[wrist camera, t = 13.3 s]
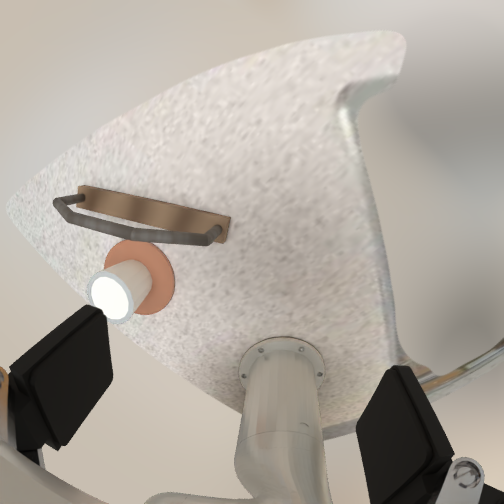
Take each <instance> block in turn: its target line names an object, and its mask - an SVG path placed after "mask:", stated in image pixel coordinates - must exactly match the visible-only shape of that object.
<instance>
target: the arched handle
mask: <svg viewBox="0 0 504 504" xmlns="http://www.w3.org/2000/svg"><path fill="white" fill-rule="evenodd" d="M76 203H77V205H76V207H78V208H82V209H86V210H90V211H94V212H98V213H102V214H106V215H110V216H114V217H118V218H122V219H126V220H130V221H134V222H138V223H142V224H146V225H150V226H154V227H158V228H162V229H166V230H170V231H166V230H154V229H142V228H133V227H129V226H125V225H122V224H118V223H114V222H110V221H106V220H102V219H99V218H95V217H91V216H87V215H83V214H79V213H76V212H73V211H72V210H71V209H70V208H69V207H68V206H67V205H71V204H76ZM53 206H54V207H55V208H56V209H57V211H58V212H59V213H60V214H61V215H62V217H63V218H64V219H65V220H66V221H67V222H68V223H71V224H74V225H78V226H81V227H85V228H88V229H92V230H95V231H99V232H102V233H106V234H109V235H113V236H116V237H120V238H124V239H127V240H131V241H140V242H154V243H168V244H182V245H196V246H209V245H210V244H211V243H212V242H213V241H214V242H218V243H222V244H223V243H224V242H225V241H226V236H227V231H228V227H229V222H230V218H231V217H227V216H223V215H219V214H214V213H210V212H206V211H202V210H197V209H193V208H189V207H184V206H180V205H175V204H171V203H166V202H162V201H157V200H153V199H148V198H144V197H139V196H134V195H130V194H125V193H120V192H115V191H110V190H105V189H100V188H95V187H90V186H85V185H83V186H78V194H76V195H70V196H65V197H59V198H55V199H54V200H53Z"/></svg>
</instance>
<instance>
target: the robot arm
mask: <svg viewBox="0 0 504 504" xmlns="http://www.w3.org/2000/svg"><path fill="white" fill-rule="evenodd" d="M9 368H10V370H11V372H10V373H9V374H7V372H6V371H5V370H4V369H3V368H2V367H0V504H108V503H105V502H103V501H101V500H99V499H97V498H95V497H93V496H91V495H89V494H87V493H85V492H83V491H81V490H79V489H77V488H75V487H73V486H72V485H70V484H68V483H66V482H65V481H63V480H61V479H59V478H58V477H56V476H54V475H53V474H51V473H49V472H48V471H46V470H45V464H44V459H43V453H42V446H43V445H44V444H45V443H46V444H47V445H48V446H50V447H52V448H53V449H55V450H57V451H58V450H59V449H60V447H61V446H66V445H67V444H68V443H69V441H70V440H71V438H72V437H73V435H74V434H75V433H76V431H77V430H78V428H79V427H80V426H81V424H82V422H83V421H84V420H85V418H86V417H87V416H88V414H89V413H90V411H91V410H92V409H93V407H94V406H95V405H96V403H97V402H98V400H99V399H100V398H101V396H102V395H103V394H104V392H105V391H106V389H107V388H108V387H109V385H110V384H111V382H112V380H113V369H112V363H111V354H110V346H109V337H108V325H107V317H106V315H104V313H103V311H102V309H100V308H97V307H94V306H91V305H85V306H83V307H82V308H81V309H79V310H78V311H77V312H75V313H74V314H73V315H72V316H70V317H69V318H68V319H66V320H65V321H64V322H63V323H61V324H60V325H59V326H58V327H56V328H55V329H54V330H53V331H51V332H50V333H49V334H48V335H46V336H45V337H44V338H43V339H41V340H40V341H39V342H38V343H37V344H35V345H34V346H33V347H32V348H31V349H29V350H28V351H27V352H26V353H25V354H24V355H22V356H21V357H20V358H19V359H18V360H16V361H15V362H14V363H13V364H12V365H11V366H9ZM324 377H325V366H324V361H323V359H322V356H321V355H320V353H319V352H318V351H317V350H316V349H315V348H314V347H313V346H311V345H310V344H308V343H306V342H304V341H301V340H299V339H294V338H286V337H279V338H272V339H268V340H264V341H262V342H260V343H257V344H256V345H254V346H253V347H251V348H250V349H249V350H248V351H247V352H246V353H245V355H244V356H243V358H242V360H241V363H240V366H239V379H240V382H241V384H242V386H243V388H244V389H245V390H246V395H245V401H244V407H243V413H242V418H241V424H240V430H239V435H238V441H237V447H236V453H235V458H234V465H235V471H236V474H237V477H238V479H239V480H240V482H241V484H242V485H243V486H244V487H245V489H246V490H247V491H248V492H249V493H250V494H251V495H252V496H253V499H226V498H215V497H206V496H198V495H191V494H183V493H173V492H167V493H160V494H157V495H154V496H152V497H151V498H149V499H148V500H147V501H146V502H145V503H144V504H333V502H332V499H331V494H330V490H329V485H328V478H327V470H326V461H325V452H324V443H323V434H322V426H321V417H320V409H319V401H318V393H317V390H318V389H319V387H320V386H321V384H322V382H323V380H324ZM356 434H357V438H358V442H359V447H360V452H361V457H362V462H363V467H364V472H365V476H366V482H367V487H368V492H369V498H370V504H504V492H502V491H500V490H497V489H495V488H493V487H491V486H489V485H487V484H484V476H485V475H484V471H483V469H482V467H481V465H480V464H479V463H478V462H477V461H475V460H473V459H471V458H467V457H461V458H458V459H456V460H455V461H452V459H451V458H452V457H453V455H454V454H455V453H454V451H453V449H452V447H451V445H450V442H449V441H448V438H447V436H446V434H445V432H444V430H443V428H442V426H441V424H440V422H439V420H438V418H437V416H436V414H435V412H434V410H433V408H432V407H431V404H430V402H429V401H428V399H427V397H426V395H425V393H424V391H423V389H422V388H421V386H420V384H419V382H418V380H417V378H416V377H415V375H414V373H413V371H412V370H411V368H410V367H409V366H398V365H394V366H392V367H391V368H390V369H388V370H386V372H385V373H384V375H383V377H382V379H381V381H380V383H379V385H378V387H377V389H376V391H375V392H374V394H373V396H372V398H371V400H370V401H369V403H368V405H367V407H366V408H365V410H364V412H363V414H362V415H361V417H360V419H359V420H358V422H357V425H356Z"/></svg>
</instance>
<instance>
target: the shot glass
mask: <svg viewBox="0 0 504 504" xmlns="http://www.w3.org/2000/svg"><path fill="white" fill-rule="evenodd" d="M151 289H152V278H151V274H150V272H149V270H148V269H147V267H146V266H145V265H143V264H142V263H141V262H139V261H136V260H126V261H123V262H121V263H118V264H116V265H114V266H111V267H109V268H106V269H104V270H101V271H99V272H97V273H96V274H94V275H93V276H92V277H91V278H90V280H89V283H88V287H87V295H88V298H89V301H90V304H91V306H94V307H97V308H100V309H102V311H103V313H104V315H106V317H107V322H110V323H112V324H123V323H124V322H126V321H128V320H129V319H130V318H131V316H132V315H133V314H134V312H135V311H136V310H137V308H138V307H139V306H140V304H141V303H142V302H143V300H144V299H145V298H146V296H147V295H148V293H149V292H150V290H151Z"/></svg>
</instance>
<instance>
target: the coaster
mask: <svg viewBox="0 0 504 504" xmlns="http://www.w3.org/2000/svg"><path fill="white" fill-rule="evenodd" d="M126 260H136V261H139V262H141V263H142V264H143V265H145V266H146V267H147V269H148V270H149V272H150V274H151V278H152V289H151V290H150V292H149V293H148V295H147V296H146V298H145V299H144V300H143V302H142V303H141V304H140V306H139V307H138V308H137V310H136V311H135V312H134V313H136V314H141V315H149V314H154V313H157V312H159V311H160V310H162V309H163V308H164V307H165V306H166V305H167V304H168V302H169V301H170V300H171V297H172V295H173V292H174V287H175V278H174V273H173V269H172V266H171V264H170V262H169V260H168V259H167V257H166V256H165V255H164V253H163V252H162V251H161V250H160V249H159V248H158V247H156V246H155V245H154V244H152V243H150V242H140V241H131V240H124V241H122V242H120V243H118V244H116V245H115V246H114V247H113V248H112V249H111V250H110V251H109V253H108V255H107V257H106V260H105V264H104V269H106V268H109V267H111V266H114V265H116V264H118V263H121V262H123V261H126Z"/></svg>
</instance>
